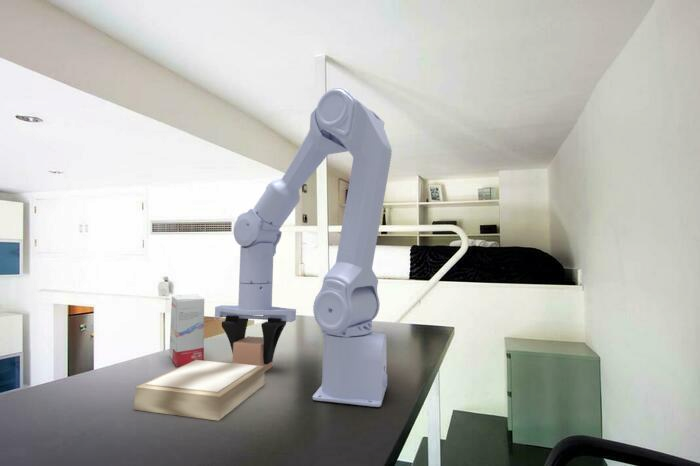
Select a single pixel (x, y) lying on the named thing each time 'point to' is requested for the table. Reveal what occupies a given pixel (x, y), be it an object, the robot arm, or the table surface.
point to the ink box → (187, 329)
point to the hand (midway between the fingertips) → (253, 361)
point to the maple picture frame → (200, 389)
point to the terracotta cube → (250, 352)
